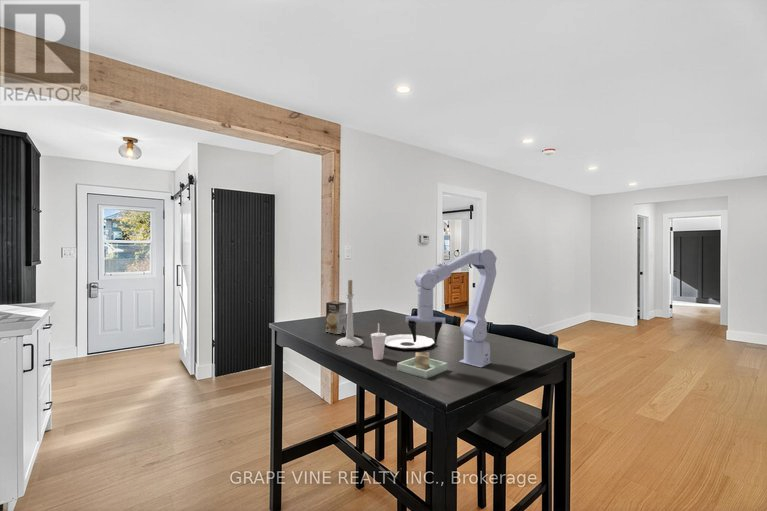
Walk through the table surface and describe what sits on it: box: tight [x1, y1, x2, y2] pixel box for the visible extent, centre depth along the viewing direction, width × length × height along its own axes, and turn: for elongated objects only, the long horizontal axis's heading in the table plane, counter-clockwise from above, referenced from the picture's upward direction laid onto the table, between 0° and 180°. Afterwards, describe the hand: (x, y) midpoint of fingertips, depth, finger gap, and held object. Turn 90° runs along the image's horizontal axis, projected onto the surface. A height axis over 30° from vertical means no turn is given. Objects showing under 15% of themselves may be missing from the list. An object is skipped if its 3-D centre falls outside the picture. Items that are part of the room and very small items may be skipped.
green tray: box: [396, 356, 449, 380], centre depth 128 cm, size 13×13×2 cm
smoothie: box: [370, 322, 387, 361], centre depth 142 cm, size 6×6×14 cm
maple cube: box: [414, 351, 431, 370], centre depth 128 cm, size 5×5×5 cm
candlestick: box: [335, 279, 364, 348], centre depth 165 cm, size 13×13×30 cm
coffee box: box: [325, 301, 347, 335], centre depth 186 cm, size 9×6×16 cm
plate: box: [385, 333, 436, 351], centre depth 165 cm, size 25×25×2 cm
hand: (425, 342), depth 131 cm, fingers open, 7 cm apart
